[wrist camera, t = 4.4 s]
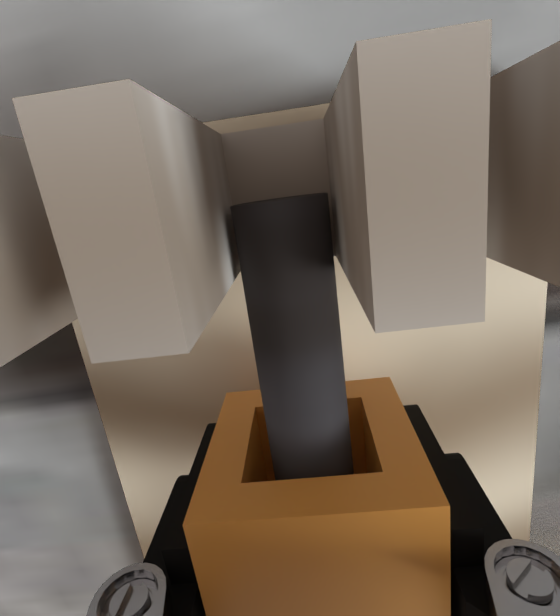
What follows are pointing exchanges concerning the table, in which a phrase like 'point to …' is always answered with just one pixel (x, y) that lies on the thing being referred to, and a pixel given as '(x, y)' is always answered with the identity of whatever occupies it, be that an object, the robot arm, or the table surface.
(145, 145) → the cord board
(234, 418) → the sleeve
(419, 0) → the table surface
